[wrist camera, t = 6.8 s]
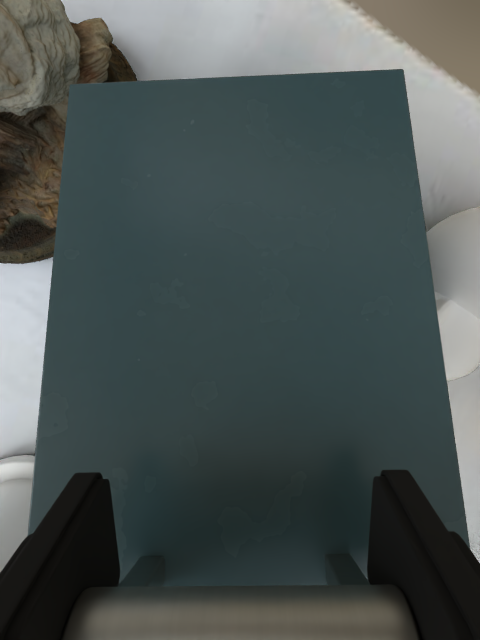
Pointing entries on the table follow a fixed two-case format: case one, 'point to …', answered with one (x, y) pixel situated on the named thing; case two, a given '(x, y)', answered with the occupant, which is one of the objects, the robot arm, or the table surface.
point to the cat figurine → (457, 289)
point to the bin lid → (243, 351)
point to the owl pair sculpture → (42, 114)
